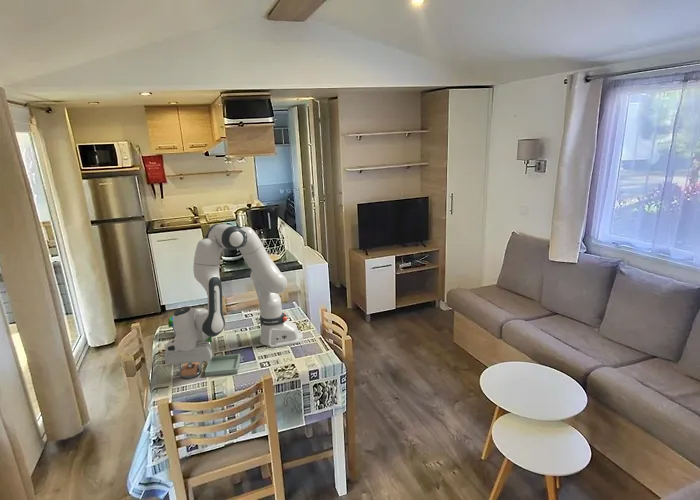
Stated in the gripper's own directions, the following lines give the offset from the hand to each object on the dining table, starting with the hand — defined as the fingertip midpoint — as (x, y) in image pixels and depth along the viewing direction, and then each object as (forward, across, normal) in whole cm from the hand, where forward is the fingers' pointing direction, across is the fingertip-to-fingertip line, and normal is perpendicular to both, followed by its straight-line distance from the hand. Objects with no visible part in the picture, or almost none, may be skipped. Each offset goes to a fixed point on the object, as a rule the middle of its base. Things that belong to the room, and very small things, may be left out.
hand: (190, 370), depth 194 cm
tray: (+2, -14, -3) cm, 14 cm away
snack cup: (+2, +14, -43) cm, 45 cm away
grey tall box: (+2, 0, -27) cm, 27 cm away
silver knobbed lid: (+2, 0, 0) cm, 2 cm away
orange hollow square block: (+1, 0, 0) cm, 1 cm away
